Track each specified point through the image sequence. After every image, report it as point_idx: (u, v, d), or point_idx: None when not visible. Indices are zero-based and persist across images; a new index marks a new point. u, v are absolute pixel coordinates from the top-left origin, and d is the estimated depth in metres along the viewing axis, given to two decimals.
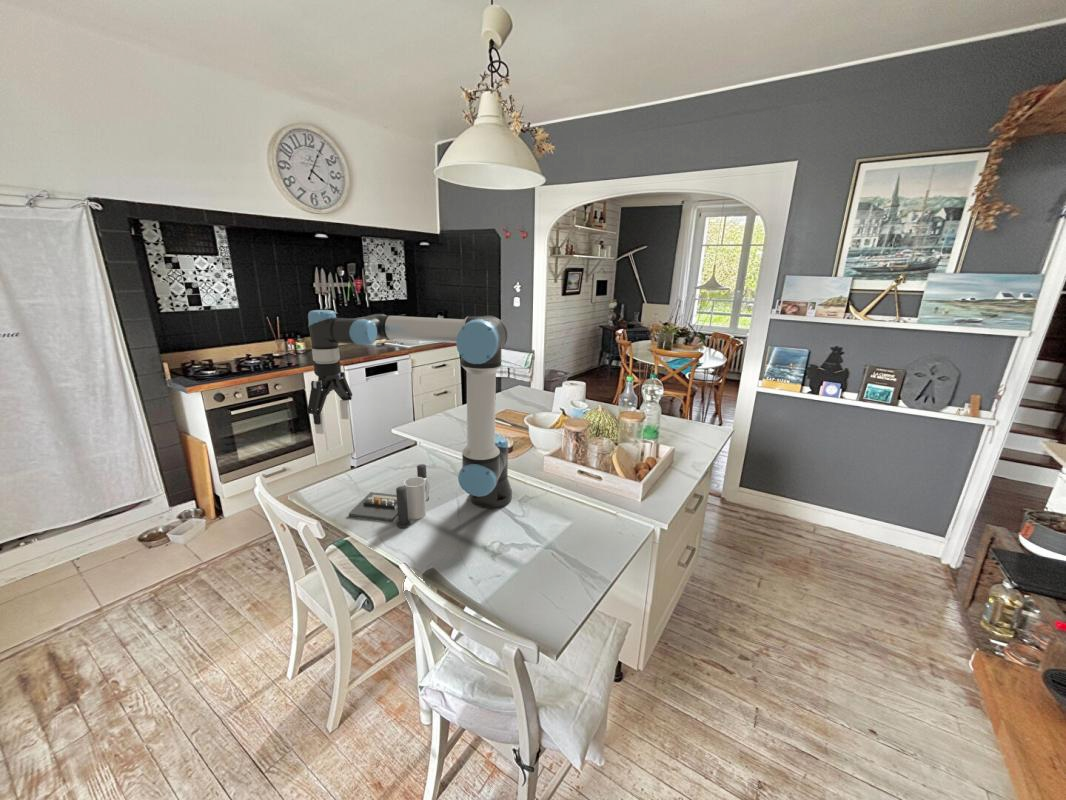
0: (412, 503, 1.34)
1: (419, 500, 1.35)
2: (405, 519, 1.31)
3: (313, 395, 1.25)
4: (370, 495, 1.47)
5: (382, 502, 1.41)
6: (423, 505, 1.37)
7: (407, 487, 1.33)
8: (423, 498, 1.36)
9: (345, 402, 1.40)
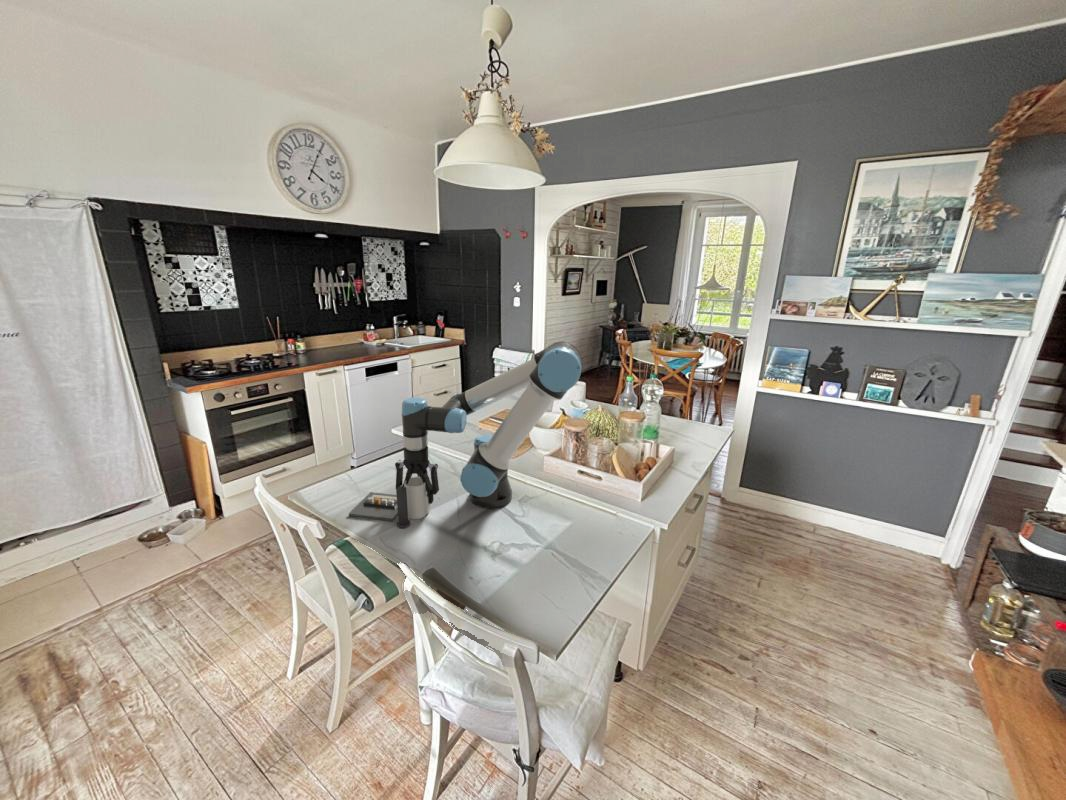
0: (412, 503, 1.34)
1: (420, 500, 1.35)
2: (405, 519, 1.31)
3: None
4: (370, 495, 1.47)
5: (382, 502, 1.41)
6: (423, 505, 1.37)
7: (408, 487, 1.33)
8: (423, 498, 1.36)
9: None
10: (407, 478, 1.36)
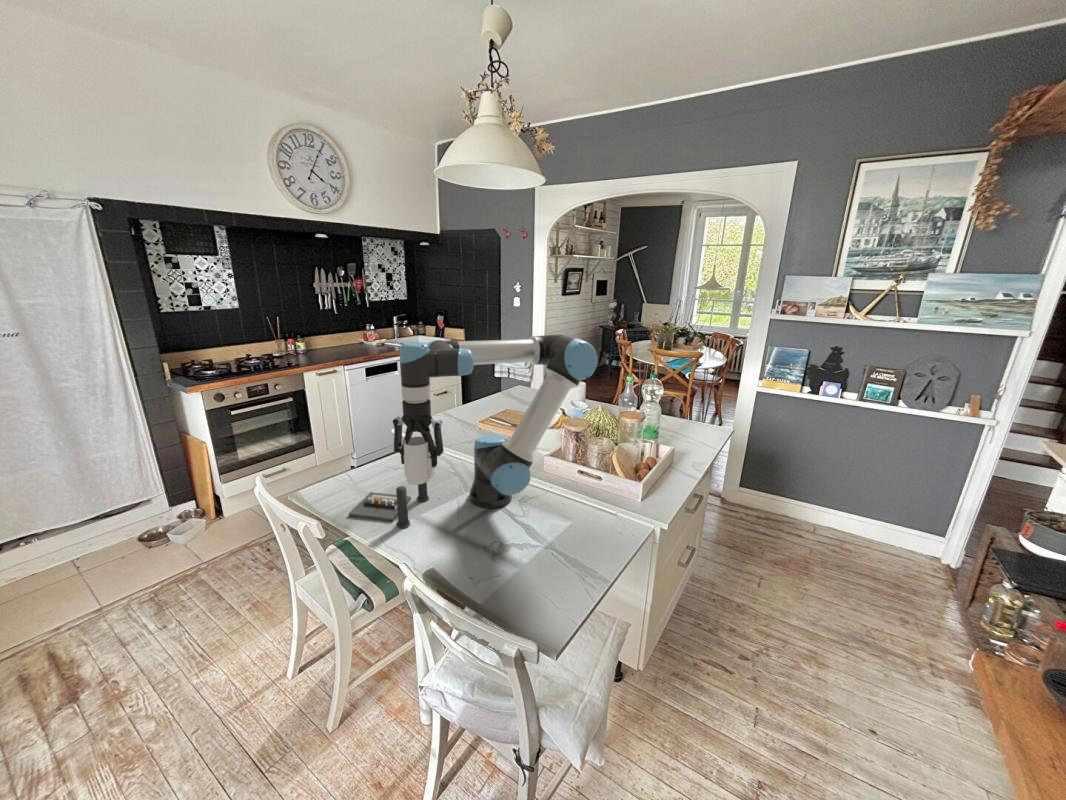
0: (413, 465, 1.16)
1: (422, 461, 1.17)
2: (405, 519, 1.31)
3: None
4: (370, 495, 1.47)
5: (382, 502, 1.41)
6: (426, 468, 1.19)
7: (408, 446, 1.15)
8: (426, 460, 1.18)
9: None
10: (407, 437, 1.18)
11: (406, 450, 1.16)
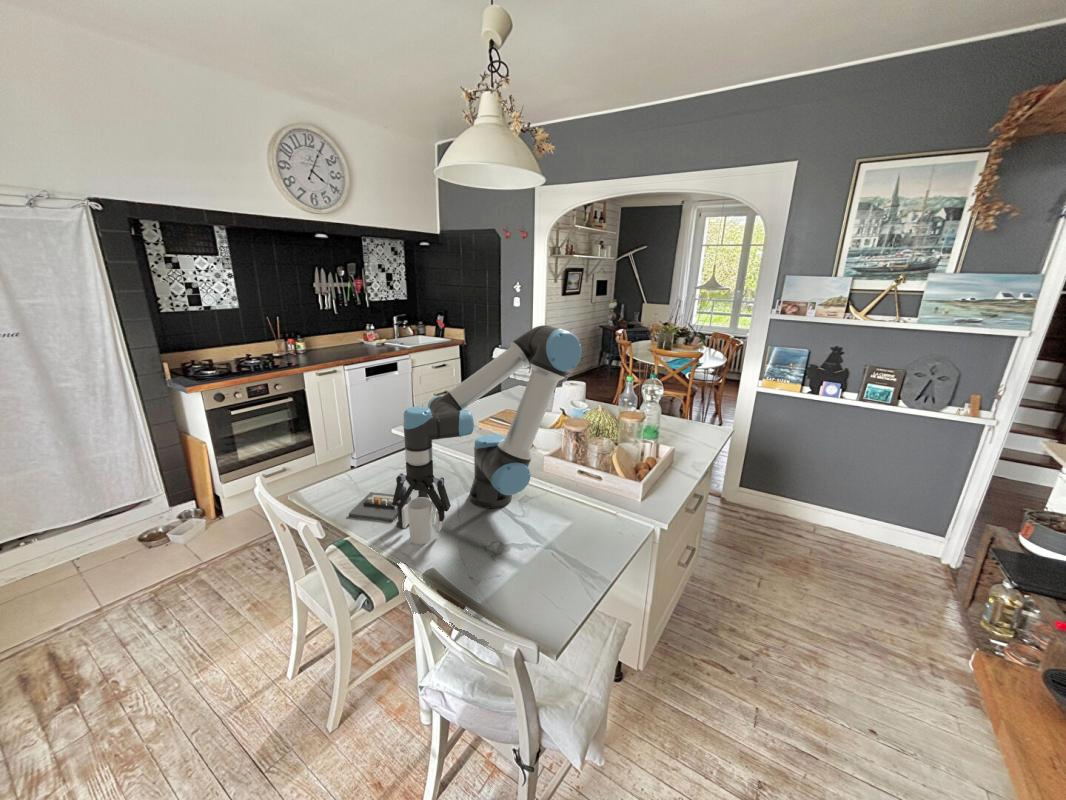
0: (417, 527, 1.22)
1: (425, 523, 1.22)
2: None
3: None
4: (370, 495, 1.47)
5: (382, 502, 1.41)
6: (429, 529, 1.24)
7: (412, 510, 1.20)
8: (429, 521, 1.24)
9: None
10: (407, 494, 1.23)
11: (410, 513, 1.21)
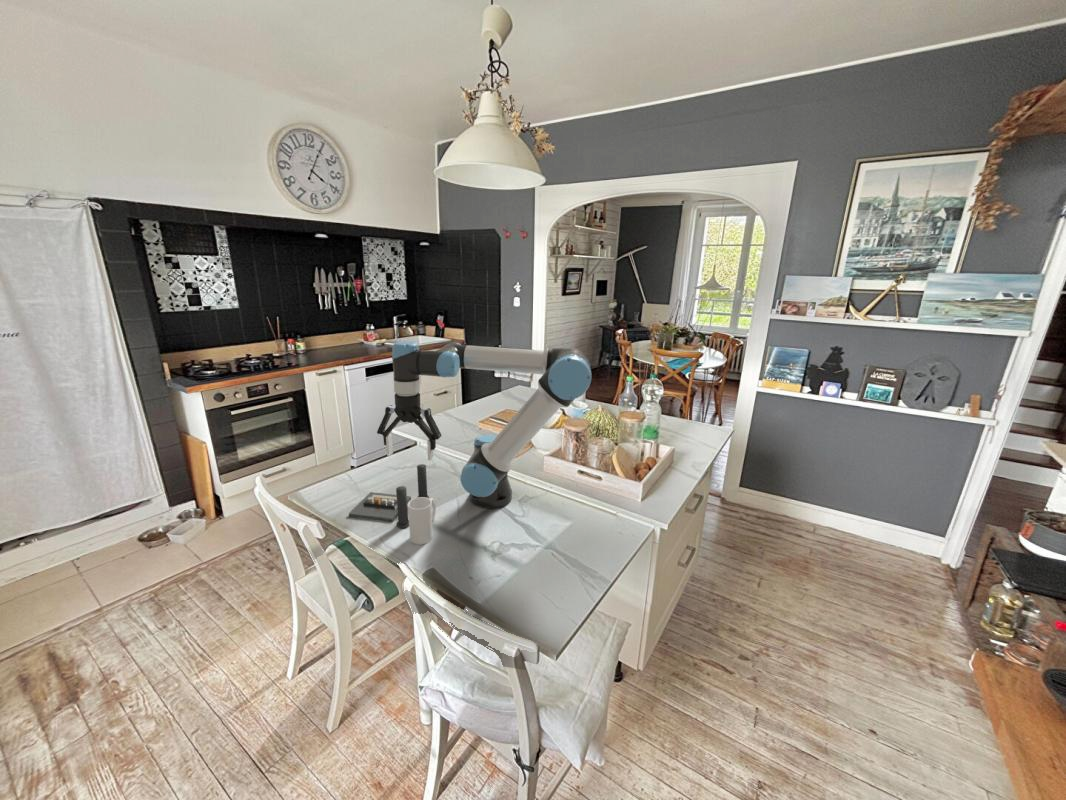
0: (417, 527, 1.22)
1: (425, 523, 1.22)
2: (405, 519, 1.31)
3: None
4: (370, 495, 1.47)
5: (382, 502, 1.41)
6: (429, 529, 1.24)
7: (412, 509, 1.20)
8: (429, 521, 1.24)
9: None
10: (394, 424, 1.31)
11: (410, 513, 1.21)
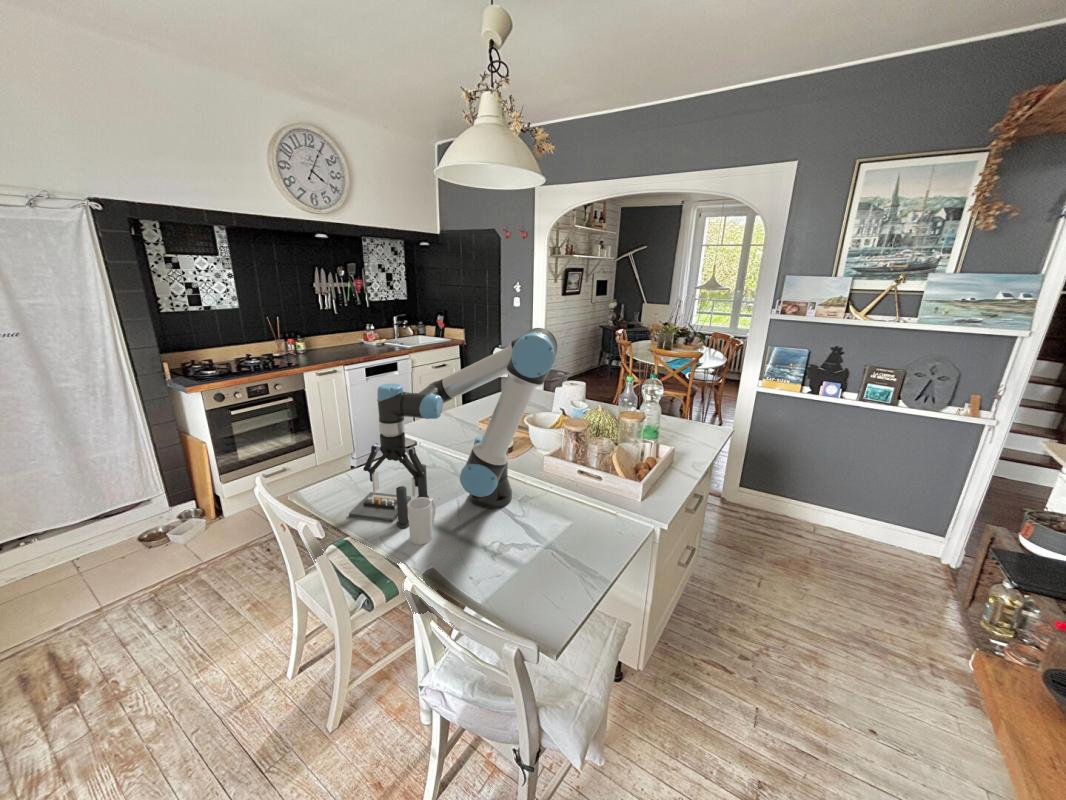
0: (417, 527, 1.22)
1: (425, 523, 1.22)
2: (405, 519, 1.31)
3: None
4: (370, 495, 1.47)
5: (382, 502, 1.41)
6: (429, 529, 1.24)
7: (412, 509, 1.20)
8: (429, 521, 1.24)
9: None
10: (379, 462, 1.36)
11: (410, 513, 1.21)
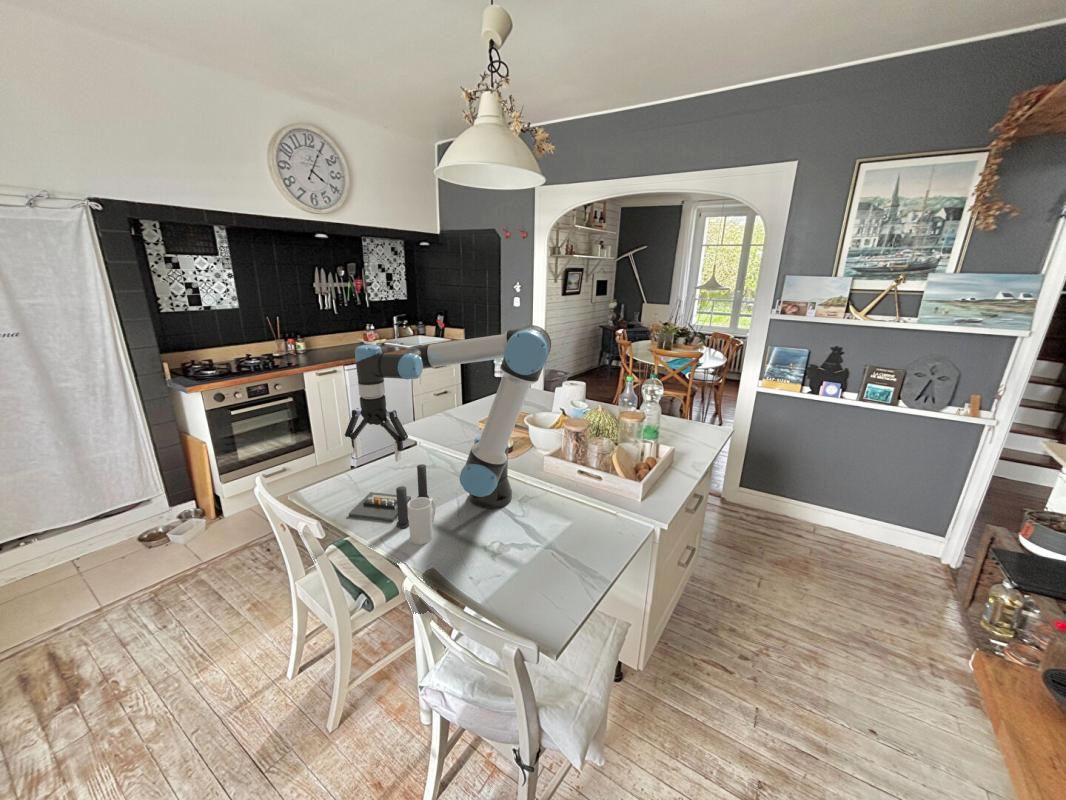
0: (417, 527, 1.22)
1: (425, 523, 1.22)
2: (405, 519, 1.31)
3: None
4: (370, 495, 1.47)
5: (382, 502, 1.41)
6: (429, 529, 1.24)
7: (412, 510, 1.20)
8: (429, 521, 1.24)
9: None
10: (360, 426, 1.33)
11: (410, 513, 1.21)
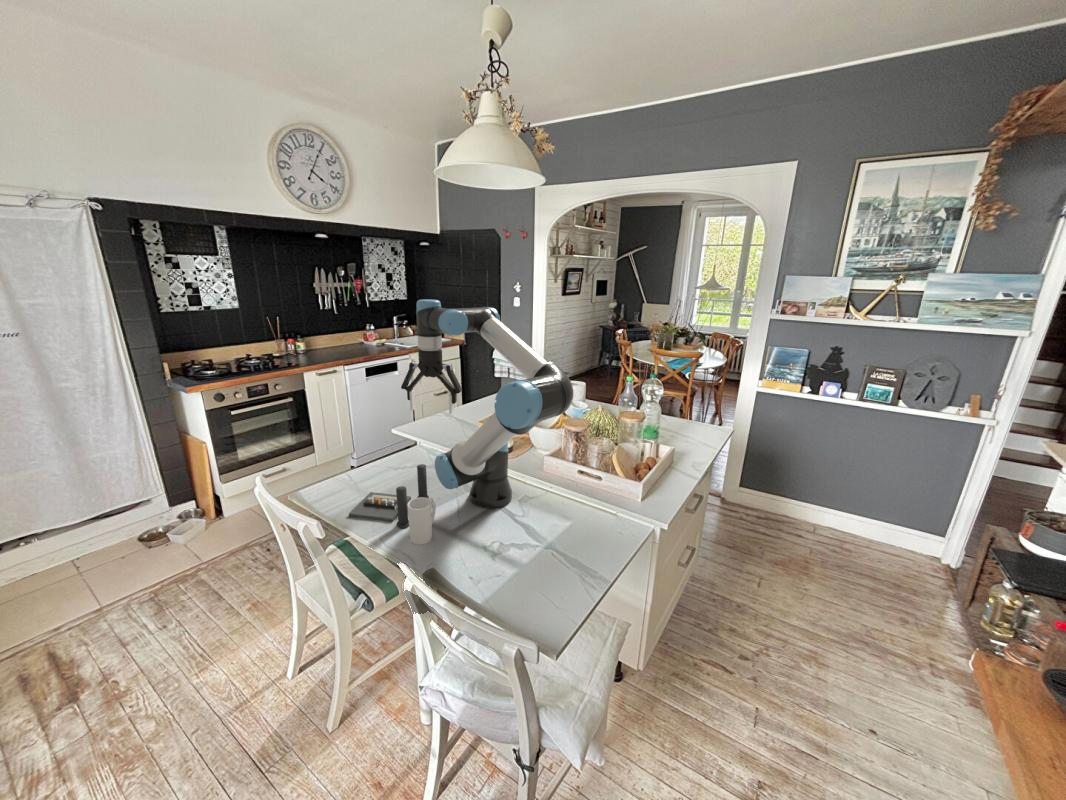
0: (417, 527, 1.22)
1: (425, 523, 1.22)
2: (405, 519, 1.31)
3: None
4: (370, 495, 1.47)
5: (382, 502, 1.41)
6: (429, 529, 1.24)
7: (412, 510, 1.20)
8: (429, 521, 1.24)
9: None
10: (417, 379, 1.39)
11: (410, 513, 1.21)
